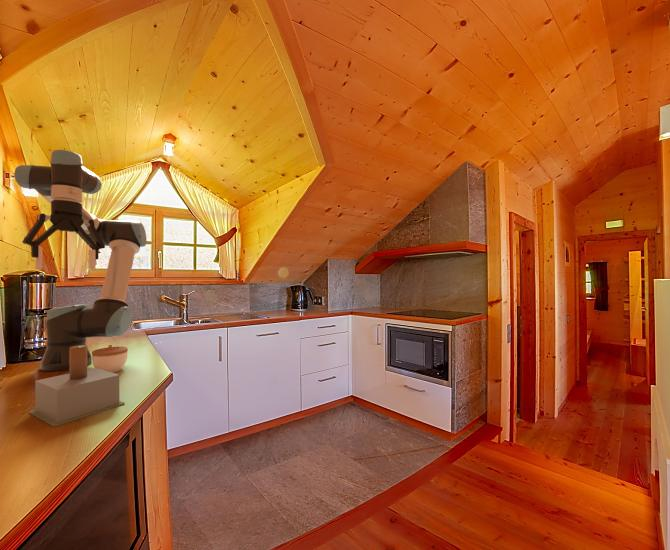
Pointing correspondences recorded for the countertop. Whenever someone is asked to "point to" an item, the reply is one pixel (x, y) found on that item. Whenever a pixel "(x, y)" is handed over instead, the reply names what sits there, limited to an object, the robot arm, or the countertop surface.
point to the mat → (71, 418)
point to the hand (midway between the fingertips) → (67, 269)
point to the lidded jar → (110, 358)
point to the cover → (76, 389)
